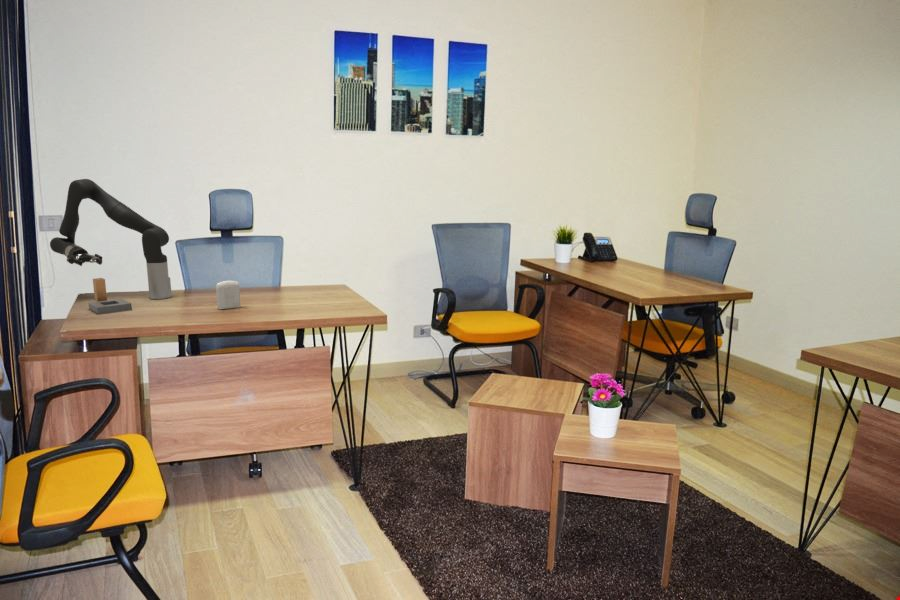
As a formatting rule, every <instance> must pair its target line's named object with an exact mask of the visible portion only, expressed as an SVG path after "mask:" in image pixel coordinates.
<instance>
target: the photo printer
mask: <svg viewBox="0 0 900 600" xmlns="http://www.w3.org/2000/svg"><path fill="white" fill-rule="evenodd" d="M240 291H241V290H240V283H239V282H238V281H236V280H223V281H220V282H218V283H216V285H215V292H216V293H215V294H216V309H217V310H226V309H237V308H241V294H240V293H241V292H240Z"/></svg>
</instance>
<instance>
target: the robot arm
mask: <svg viewBox="0 0 900 600" xmlns="http://www.w3.org/2000/svg"><path fill="white" fill-rule="evenodd" d="M66 196H67V197H66V204H65V210H64V213H63V218H62V221H61V224H60V225H59V226H60V227H59V230H58V231H59V233H60V235H62V236H63V237H58V236H57V237H56V236H55V237H53V238H52V239H51V240H50V242H49V246H50V249H51V251H53V252H54V253H57V254H60V255H63V256H65V257H66V262H67V263H69V264H71V265H73V264H75V265H78V266H80V267H82V266H83V264H85V263H91V264H93V263H96V264H98V265H102V264H103V256H101V255H100V254H97V253H94V255H93V254H89V252H88V250H86V249H84V248H83V247H81V246H80V245H77V244H76V241H75V240H76V232H77V229H78V227H79V224H80V215H79V214H80V213H79V207H80V205H81V203H82V201H83V200H85V199H89V200H91V201H93V202H95V203H96V204H98V205H99V206H100V207H101V208H102V210H103V212H104V213H105V215H106V216H107V217H108V218H109V219H110V220H112V221H113V222H115V223H116V224H118V225H120V226H121V227H123V228H127V229H129V230H133V231H135V232H138V233H140V234H142V235H141V244H142V252H143V256H144V258H145V262H146V272H147V283H148V296H149V299H151V300H164V299H168V298H173V297H172V295H173V294H172V285H171V277H169V276H170V275H169V267H168V257H167V255H166V254H164V253H163V252H162V251H163V250H162V247H164V246H166V245H167V244H168V243H169V241H170V236H169V234H168V232H167V231H166V230H165V229H164V228H162V227H161V226H159V225H157V224H155V223H153V222H151V221H150V220H148V219H147V218H145V217H143V216H142V215H140V214H139V213H137V212H136V211H134V210H133V209H132V208H130V207H129V206H128V205H126V204H124V203H123V202H121V201H119V200H118V199H117V198H116V197H114V196H113V195H111V194H110V193H108V192H106V191H105V190H104V189H103V188H102V187H101V186H99V184H98V183H96V182H94V181H93V180H91V179H88V178H81V179H76V180H73V181H71V182H70V184H69V186H68V190H67V195H66Z"/></svg>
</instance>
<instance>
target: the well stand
mask: <svg viewBox="0 0 900 600" xmlns="http://www.w3.org/2000/svg"><path fill="white" fill-rule="evenodd" d="M87 304H88V310H89V311H91V312H93V313H94V314H96V315H103V314H112V313H113V314H114V313H120V312H127V311H132V310H133V309H132V308H133V307H132V303H131V302H130V301H128V300H126V299H123V298H115V299H107V300H106V301H98V302H95V301H91V302H88V303H87Z"/></svg>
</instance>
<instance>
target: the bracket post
mask: <svg viewBox="0 0 900 600" xmlns="http://www.w3.org/2000/svg"><path fill="white" fill-rule="evenodd" d="M92 285H93V294H94V302H98V301H106V300H108V298H107V297H108V295H107V286H106V279H105V278H103V277H99V278H98V277H96V278H92Z"/></svg>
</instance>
